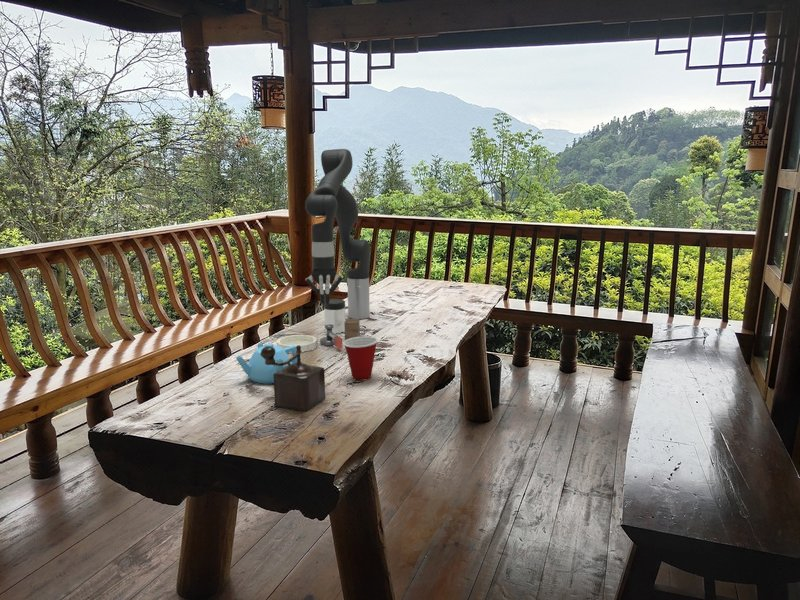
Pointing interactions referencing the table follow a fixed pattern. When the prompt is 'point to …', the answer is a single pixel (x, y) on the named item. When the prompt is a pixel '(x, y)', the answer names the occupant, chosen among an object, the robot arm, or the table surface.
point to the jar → (335, 315)
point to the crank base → (328, 337)
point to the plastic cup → (361, 356)
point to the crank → (337, 340)
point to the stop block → (352, 328)
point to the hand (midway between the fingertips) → (324, 304)
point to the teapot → (258, 367)
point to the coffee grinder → (296, 382)
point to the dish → (298, 342)
